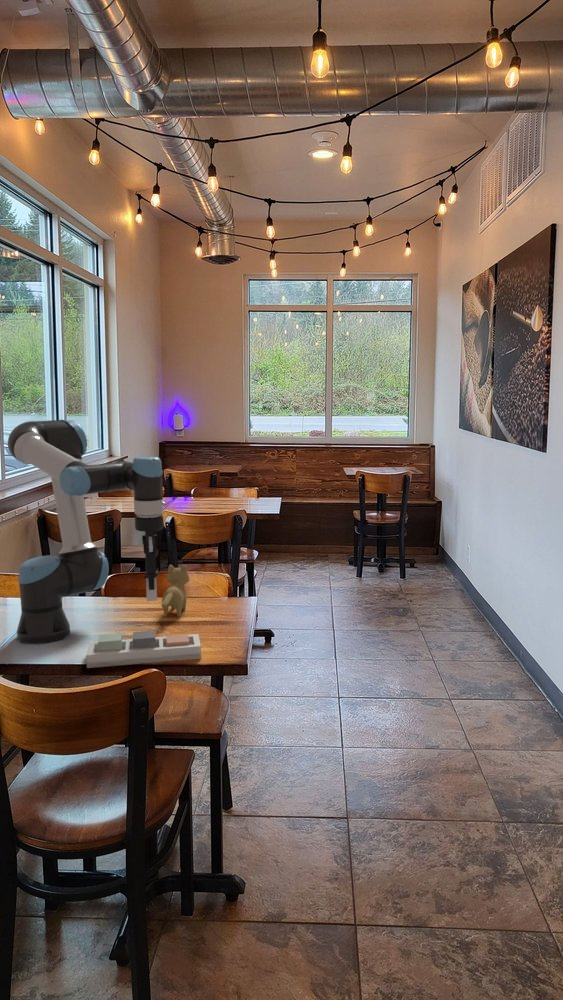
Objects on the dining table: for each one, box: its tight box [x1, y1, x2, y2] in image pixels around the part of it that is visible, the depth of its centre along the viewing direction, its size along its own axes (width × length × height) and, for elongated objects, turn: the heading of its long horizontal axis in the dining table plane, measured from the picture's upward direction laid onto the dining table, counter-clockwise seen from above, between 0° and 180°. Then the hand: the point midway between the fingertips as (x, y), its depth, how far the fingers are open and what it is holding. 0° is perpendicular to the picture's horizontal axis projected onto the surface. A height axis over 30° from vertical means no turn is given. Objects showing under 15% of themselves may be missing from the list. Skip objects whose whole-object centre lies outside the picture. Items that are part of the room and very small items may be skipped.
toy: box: [161, 564, 190, 618], centre depth 226 cm, size 7×24×15 cm, turn 174°
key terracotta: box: [165, 633, 189, 647], centre depth 192 cm, size 6×6×2 cm
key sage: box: [97, 632, 123, 651], centre depth 189 cm, size 6×6×2 cm
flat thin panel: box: [115, 623, 169, 638], centre depth 211 cm, size 9×1×15 cm
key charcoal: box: [132, 629, 156, 648], centre depth 190 cm, size 6×6×2 cm
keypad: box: [85, 633, 202, 669], centre depth 191 cm, size 30×10×4 cm, turn 101°
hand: (151, 599), depth 190 cm, fingers closed
